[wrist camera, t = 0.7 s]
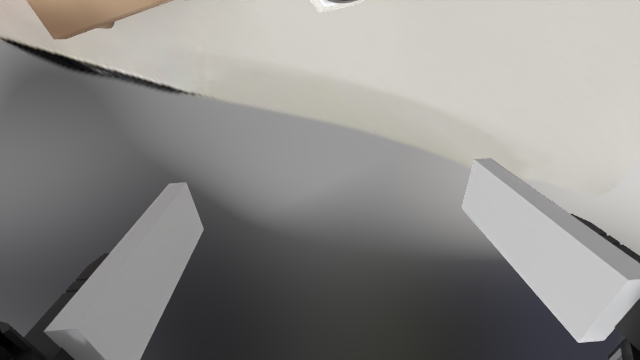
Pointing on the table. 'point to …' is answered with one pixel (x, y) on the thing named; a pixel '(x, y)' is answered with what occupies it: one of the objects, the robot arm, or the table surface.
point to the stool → (85, 14)
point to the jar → (333, 4)
